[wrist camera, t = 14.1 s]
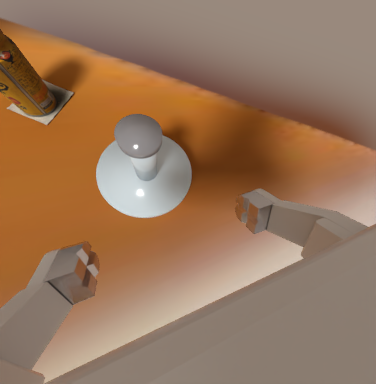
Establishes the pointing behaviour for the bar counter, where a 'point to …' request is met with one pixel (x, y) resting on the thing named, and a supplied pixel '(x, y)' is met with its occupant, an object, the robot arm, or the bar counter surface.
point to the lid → (143, 169)
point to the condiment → (27, 85)
